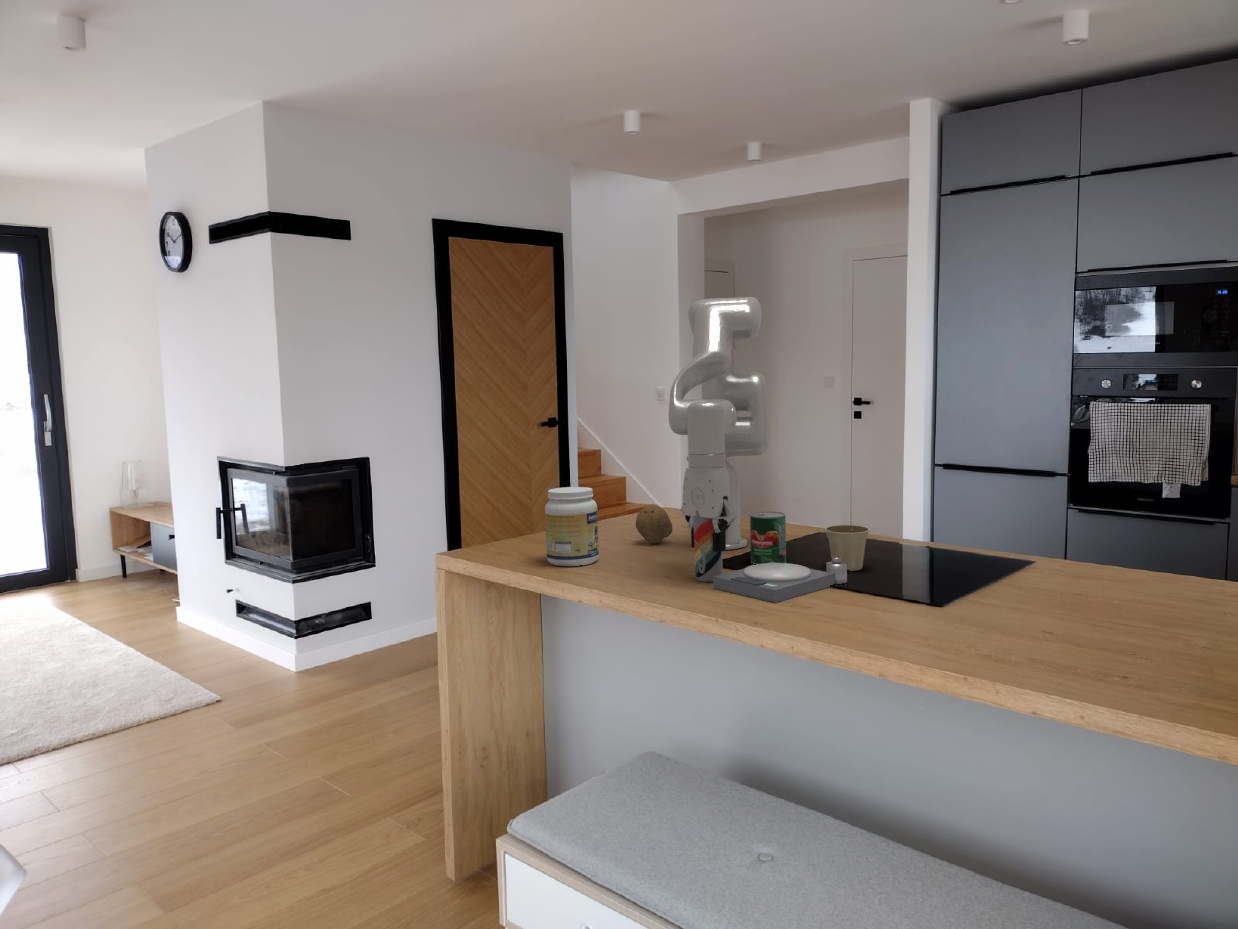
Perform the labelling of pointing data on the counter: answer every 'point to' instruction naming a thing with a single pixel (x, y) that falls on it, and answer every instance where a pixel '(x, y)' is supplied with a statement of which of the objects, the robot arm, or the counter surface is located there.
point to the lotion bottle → (705, 550)
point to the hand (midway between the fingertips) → (708, 548)
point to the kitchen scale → (774, 581)
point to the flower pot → (848, 544)
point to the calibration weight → (837, 569)
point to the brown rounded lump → (653, 523)
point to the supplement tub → (571, 526)
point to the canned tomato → (768, 537)
